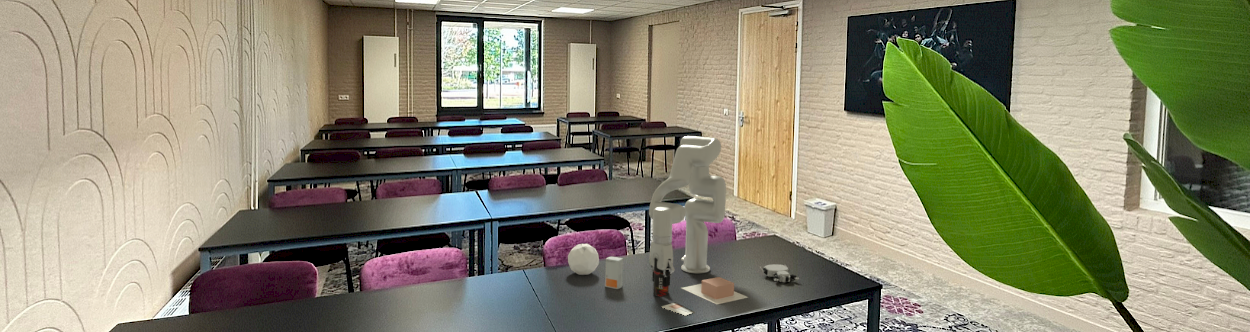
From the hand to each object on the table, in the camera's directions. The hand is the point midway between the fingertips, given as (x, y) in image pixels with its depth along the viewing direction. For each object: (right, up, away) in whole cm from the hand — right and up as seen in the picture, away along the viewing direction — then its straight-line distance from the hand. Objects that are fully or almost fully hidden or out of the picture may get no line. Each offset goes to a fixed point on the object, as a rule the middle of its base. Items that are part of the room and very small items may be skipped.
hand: (661, 283), depth 284 cm
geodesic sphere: (-32, 0, +26) cm, 41 cm away
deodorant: (0, -4, +1) cm, 5 cm away
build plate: (+21, -5, +2) cm, 22 cm away
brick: (+22, -4, +1) cm, 23 cm away
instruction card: (+7, -7, -14) cm, 17 cm away
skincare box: (-19, -3, +10) cm, 21 cm away
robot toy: (+52, -3, +25) cm, 57 cm away
